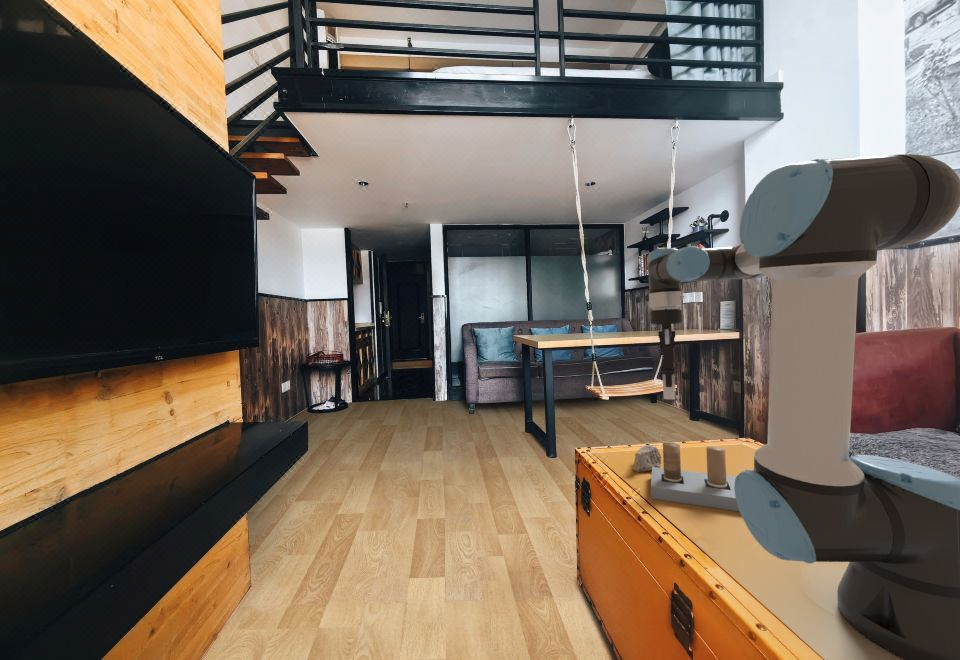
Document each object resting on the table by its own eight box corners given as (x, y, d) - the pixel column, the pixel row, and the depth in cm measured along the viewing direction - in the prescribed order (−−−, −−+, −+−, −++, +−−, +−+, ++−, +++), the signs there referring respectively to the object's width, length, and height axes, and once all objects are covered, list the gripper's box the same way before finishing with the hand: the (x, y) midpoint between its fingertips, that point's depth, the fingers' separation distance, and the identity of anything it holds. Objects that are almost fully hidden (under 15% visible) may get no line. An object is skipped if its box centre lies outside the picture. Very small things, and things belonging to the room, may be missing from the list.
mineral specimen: (658, 477, 107) (657, 455, 107) (631, 473, 111) (631, 452, 111) (664, 463, 118) (663, 443, 117) (639, 459, 121) (639, 440, 121)
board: (747, 512, 85) (745, 460, 85) (651, 498, 94) (649, 451, 94) (736, 487, 98) (734, 442, 98) (652, 477, 107) (650, 435, 107)
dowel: (682, 494, 95) (680, 448, 95) (664, 492, 97) (662, 446, 97) (681, 488, 99) (679, 443, 99) (664, 486, 101) (662, 441, 101)
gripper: (683, 307, 90) (687, 404, 91) (680, 308, 102) (684, 394, 102) (649, 309, 94) (653, 402, 94) (650, 310, 105) (654, 393, 106)
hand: (669, 398), depth 98 cm, fingers closed
